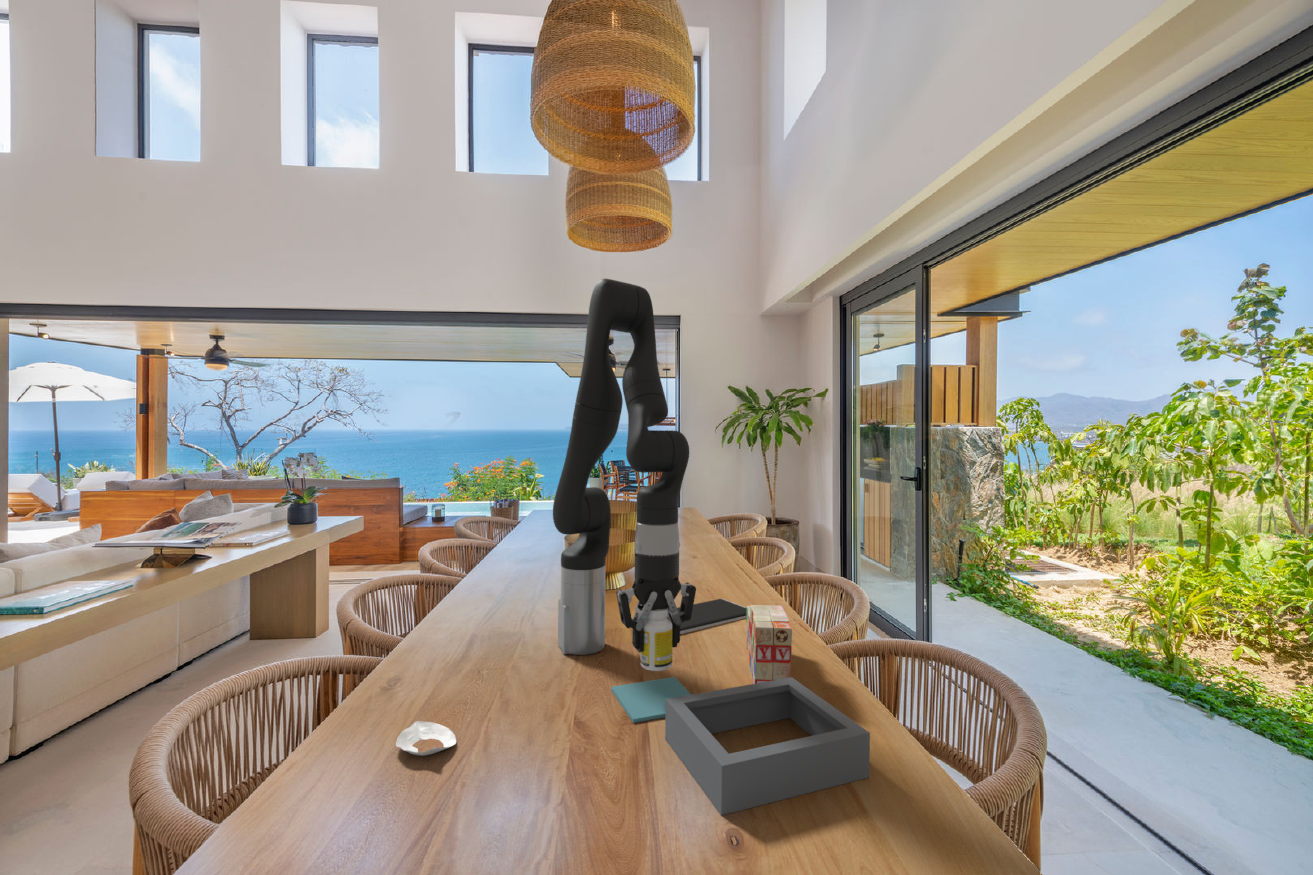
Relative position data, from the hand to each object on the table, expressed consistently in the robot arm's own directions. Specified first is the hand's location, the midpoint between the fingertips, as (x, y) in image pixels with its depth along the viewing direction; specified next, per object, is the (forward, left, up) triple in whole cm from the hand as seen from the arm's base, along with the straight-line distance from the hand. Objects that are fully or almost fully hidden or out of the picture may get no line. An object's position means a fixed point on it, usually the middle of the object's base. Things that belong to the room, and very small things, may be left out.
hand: (656, 647), depth 99 cm
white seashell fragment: (-36, -2, -9) cm, 38 cm away
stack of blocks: (+24, +4, -9) cm, 26 cm away
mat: (0, 0, -9) cm, 9 cm away
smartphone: (+25, +36, -10) cm, 45 cm away
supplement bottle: (0, 0, -3) cm, 3 cm away
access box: (+8, -21, -9) cm, 24 cm away
